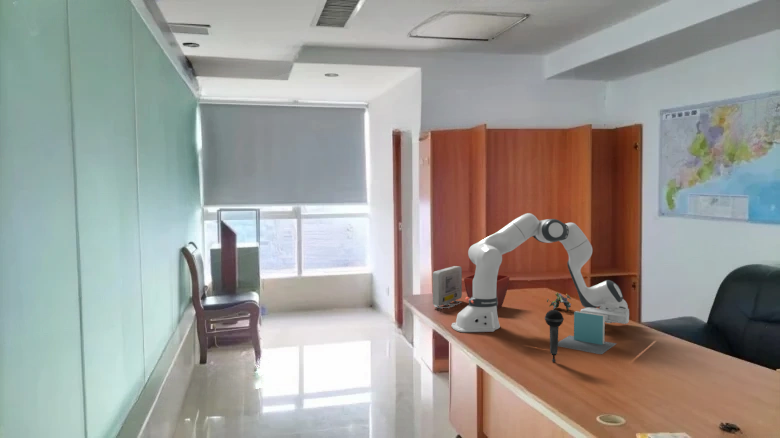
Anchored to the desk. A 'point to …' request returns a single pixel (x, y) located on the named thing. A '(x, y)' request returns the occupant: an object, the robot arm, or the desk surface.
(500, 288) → the plant pot
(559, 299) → the passion flower
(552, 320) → the microphone
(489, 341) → the desk surface
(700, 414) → the desk surface
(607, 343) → the mat
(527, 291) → the desk surface
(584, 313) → the tile
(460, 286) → the network device
